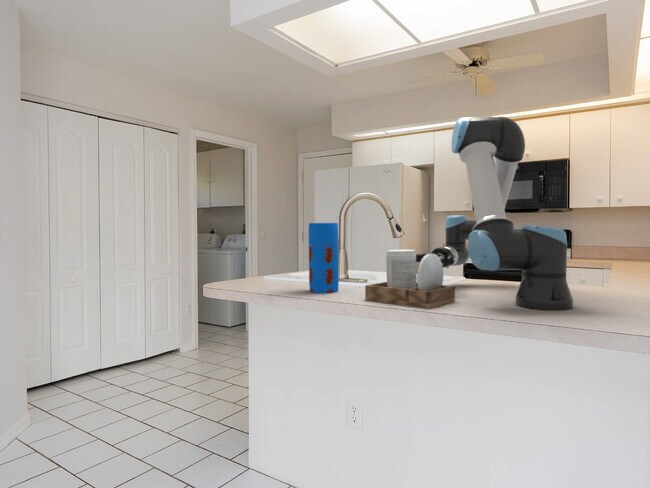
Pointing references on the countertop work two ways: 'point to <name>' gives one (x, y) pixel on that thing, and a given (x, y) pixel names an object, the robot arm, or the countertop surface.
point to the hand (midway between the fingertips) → (414, 261)
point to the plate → (430, 273)
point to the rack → (410, 295)
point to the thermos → (323, 257)
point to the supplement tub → (401, 269)
